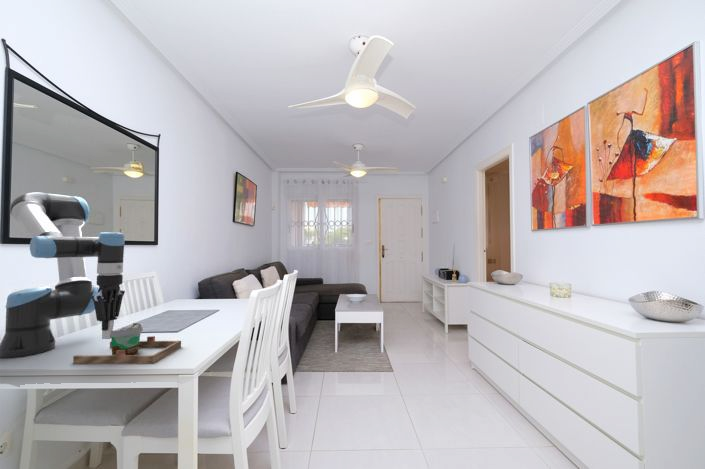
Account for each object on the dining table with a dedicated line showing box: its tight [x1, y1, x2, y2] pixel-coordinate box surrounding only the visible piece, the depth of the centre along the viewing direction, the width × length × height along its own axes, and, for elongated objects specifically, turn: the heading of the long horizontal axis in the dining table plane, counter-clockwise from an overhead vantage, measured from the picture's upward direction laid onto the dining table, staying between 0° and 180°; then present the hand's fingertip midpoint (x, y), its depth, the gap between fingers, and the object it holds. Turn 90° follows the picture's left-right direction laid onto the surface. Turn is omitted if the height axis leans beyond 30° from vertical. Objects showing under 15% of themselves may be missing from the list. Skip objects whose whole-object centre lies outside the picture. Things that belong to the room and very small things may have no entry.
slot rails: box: [72, 335, 182, 365], centre depth 112 cm, size 27×17×4 cm, turn 91°
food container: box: [110, 322, 144, 355], centre depth 113 cm, size 12×6×10 cm, turn 1°
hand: (107, 338), depth 113 cm, fingers closed
